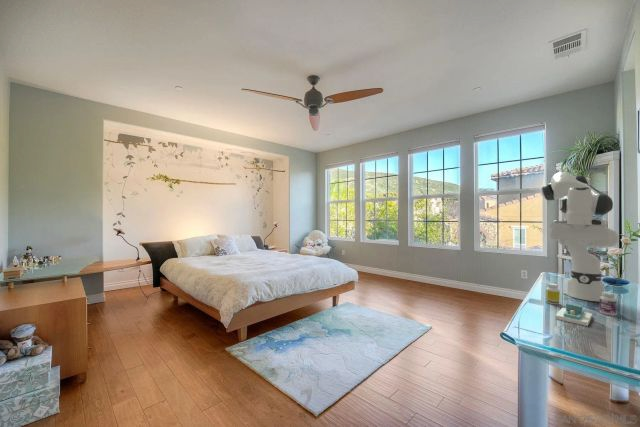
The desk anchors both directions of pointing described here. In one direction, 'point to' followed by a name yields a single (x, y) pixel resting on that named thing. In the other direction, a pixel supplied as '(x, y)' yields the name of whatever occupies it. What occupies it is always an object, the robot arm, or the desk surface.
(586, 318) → the post board
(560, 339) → the desk surface
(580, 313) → the teal bar
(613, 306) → the pill bottle
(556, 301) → the supplement bottle
